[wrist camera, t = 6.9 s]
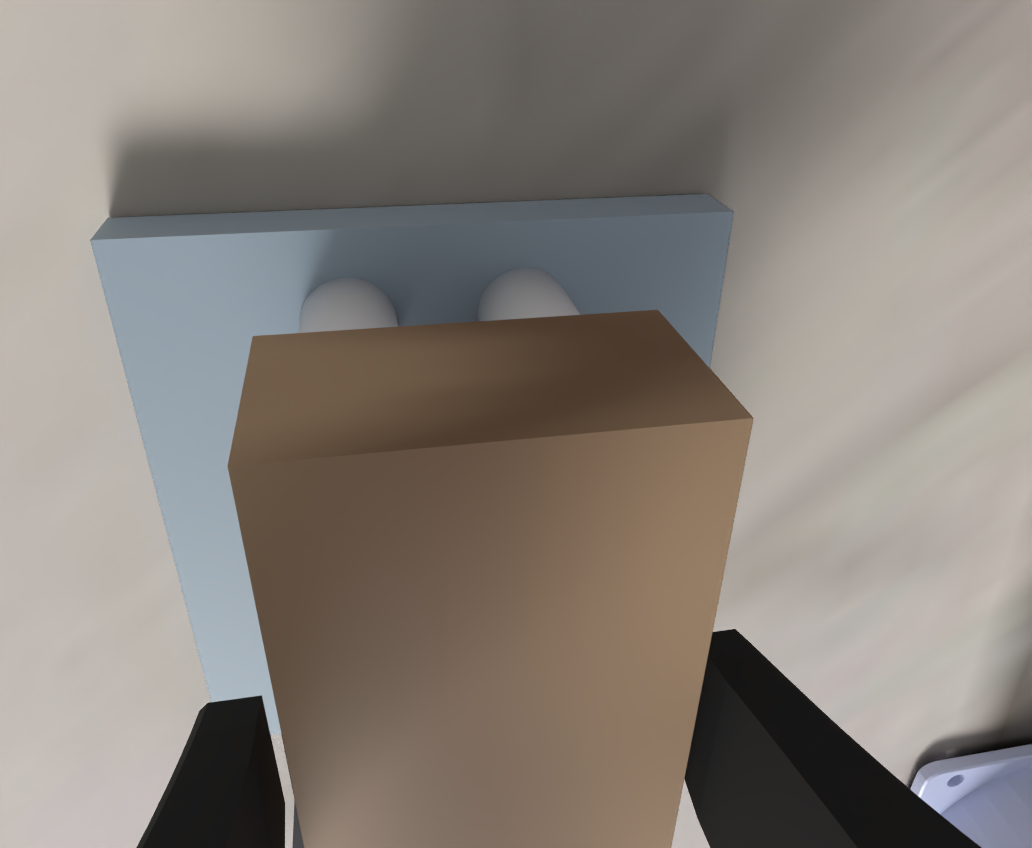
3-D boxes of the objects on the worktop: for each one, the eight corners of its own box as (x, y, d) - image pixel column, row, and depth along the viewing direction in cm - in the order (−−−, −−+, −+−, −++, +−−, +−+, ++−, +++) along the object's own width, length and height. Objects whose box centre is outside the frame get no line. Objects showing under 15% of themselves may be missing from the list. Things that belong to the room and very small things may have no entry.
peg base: (707, 194, 13) (839, 283, 10) (646, 642, 18) (719, 804, 15) (107, 217, 11) (14, 335, 8) (227, 701, 17) (200, 896, 13)
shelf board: (657, 310, 9) (753, 418, 7) (599, 831, 14) (645, 983, 12) (253, 336, 9) (228, 466, 6) (342, 877, 14) (344, 1048, 12)
